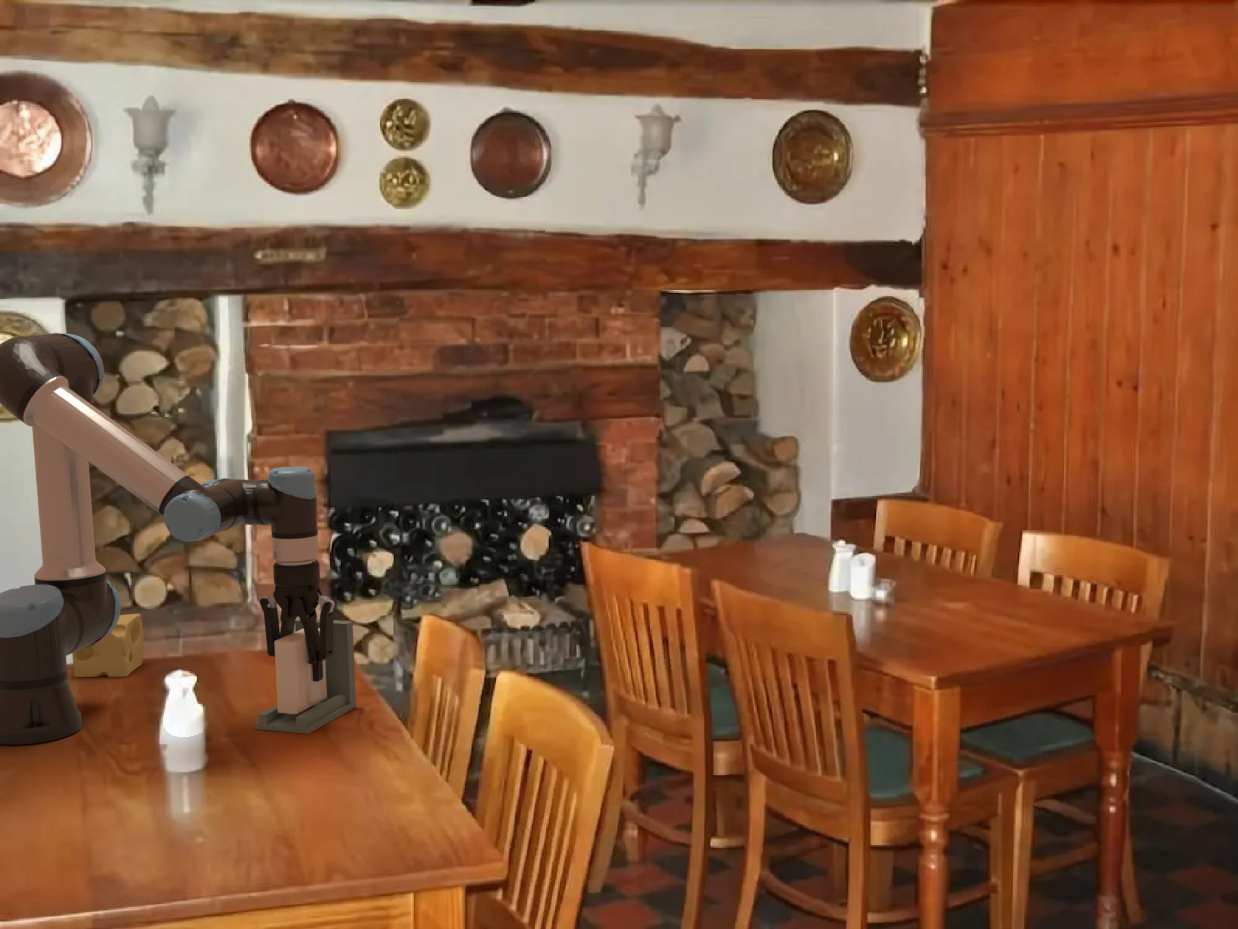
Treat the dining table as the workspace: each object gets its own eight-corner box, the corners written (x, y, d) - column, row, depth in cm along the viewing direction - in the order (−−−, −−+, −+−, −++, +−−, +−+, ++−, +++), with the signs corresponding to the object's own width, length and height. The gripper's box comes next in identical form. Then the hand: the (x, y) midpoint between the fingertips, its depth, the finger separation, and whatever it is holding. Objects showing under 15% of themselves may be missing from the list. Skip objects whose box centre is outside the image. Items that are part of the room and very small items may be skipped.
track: (308, 733, 250) (304, 643, 248) (254, 729, 253) (250, 639, 251) (356, 707, 265) (352, 621, 263) (304, 702, 268) (300, 618, 266)
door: (296, 714, 253) (293, 642, 251) (277, 712, 254) (274, 641, 252) (327, 698, 262) (324, 628, 261) (308, 696, 263) (305, 627, 262)
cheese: (127, 677, 288) (124, 625, 287) (70, 678, 288) (67, 626, 287) (145, 663, 298) (142, 612, 297) (90, 664, 298) (87, 613, 297)
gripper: (352, 558, 256) (357, 696, 259) (264, 554, 261) (270, 689, 264) (329, 567, 249) (335, 708, 252) (239, 562, 254) (246, 701, 257)
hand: (302, 698), depth 258 cm, fingers closed on door, 4 cm apart
